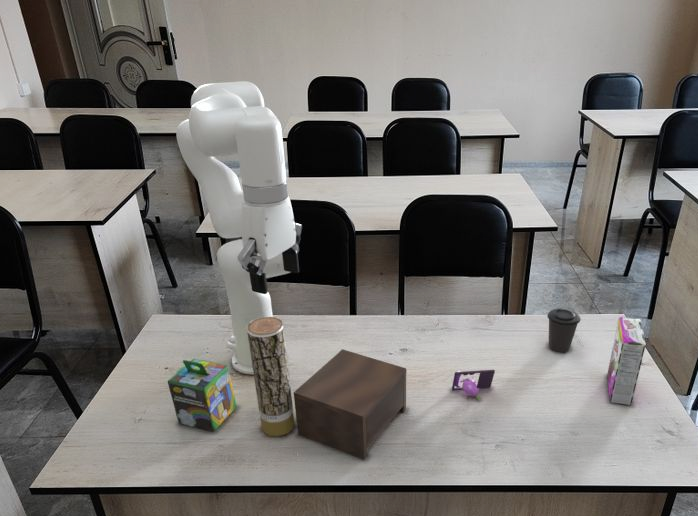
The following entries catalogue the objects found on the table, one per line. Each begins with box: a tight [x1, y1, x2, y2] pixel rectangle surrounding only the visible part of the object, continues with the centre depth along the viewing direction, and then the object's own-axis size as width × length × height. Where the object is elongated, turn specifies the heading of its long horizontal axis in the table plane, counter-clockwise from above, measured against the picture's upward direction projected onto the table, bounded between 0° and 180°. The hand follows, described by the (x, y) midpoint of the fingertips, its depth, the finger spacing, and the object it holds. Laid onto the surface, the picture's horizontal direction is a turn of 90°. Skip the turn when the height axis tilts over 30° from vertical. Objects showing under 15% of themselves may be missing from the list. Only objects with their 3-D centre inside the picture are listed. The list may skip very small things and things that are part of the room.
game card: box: [451, 369, 496, 401], centre depth 136 cm, size 7×5×9 cm
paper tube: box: [247, 316, 295, 437], centre depth 121 cm, size 7×7×25 cm
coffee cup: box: [546, 307, 582, 354], centre depth 152 cm, size 8×8×10 cm
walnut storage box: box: [293, 348, 407, 461], centre depth 126 cm, size 16×18×11 cm
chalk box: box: [166, 358, 238, 433], centre depth 127 cm, size 9×9×15 cm
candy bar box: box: [606, 316, 647, 406], centre depth 135 cm, size 11×5×16 cm, turn 167°
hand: (276, 281), depth 113 cm, fingers open, 9 cm apart
